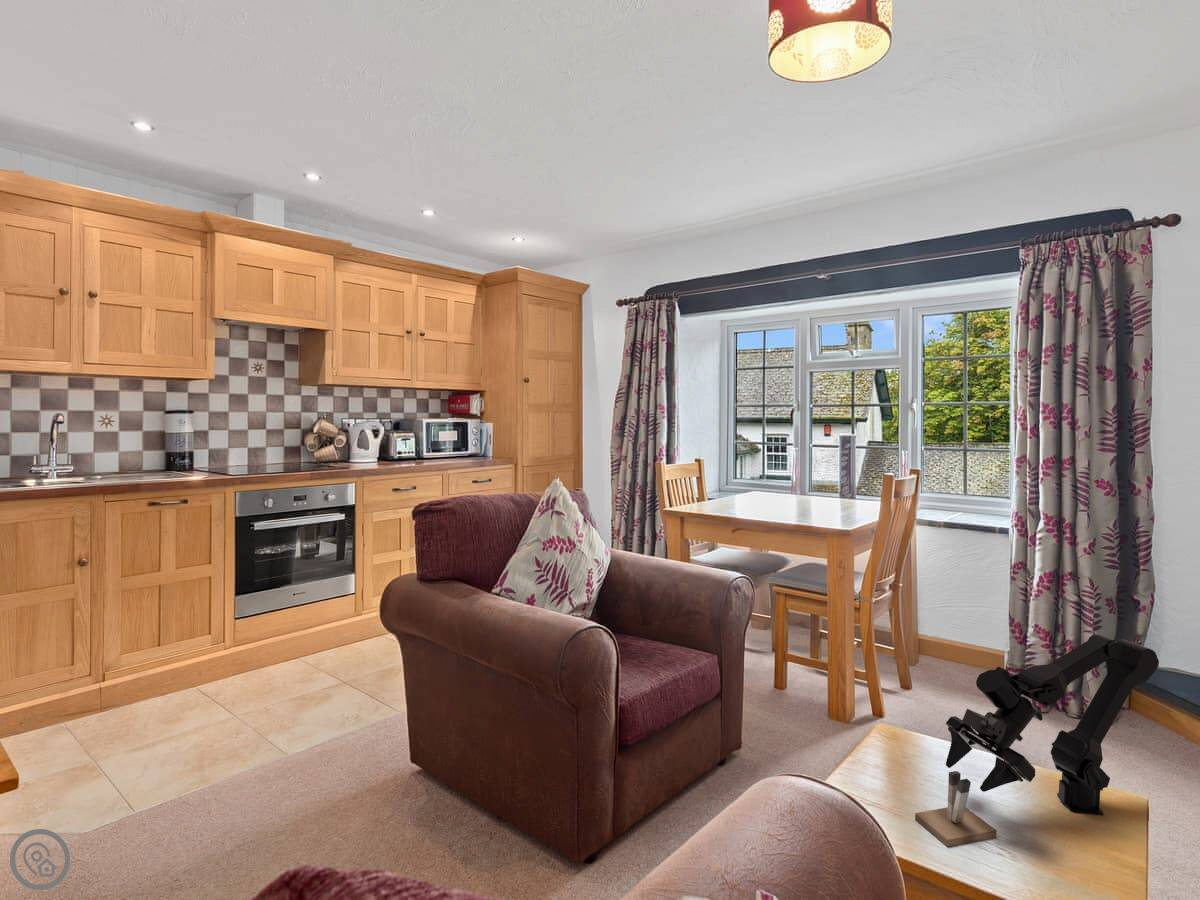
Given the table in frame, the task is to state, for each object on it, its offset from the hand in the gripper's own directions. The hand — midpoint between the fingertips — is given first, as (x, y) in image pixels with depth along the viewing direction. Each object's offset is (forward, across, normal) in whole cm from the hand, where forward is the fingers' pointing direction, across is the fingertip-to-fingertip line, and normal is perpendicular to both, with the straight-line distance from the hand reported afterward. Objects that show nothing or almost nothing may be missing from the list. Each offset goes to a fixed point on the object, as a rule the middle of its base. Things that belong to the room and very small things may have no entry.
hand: (963, 778), depth 139 cm
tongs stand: (+9, +1, +5) cm, 10 cm away
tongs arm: (+7, +1, +4) cm, 8 cm away
